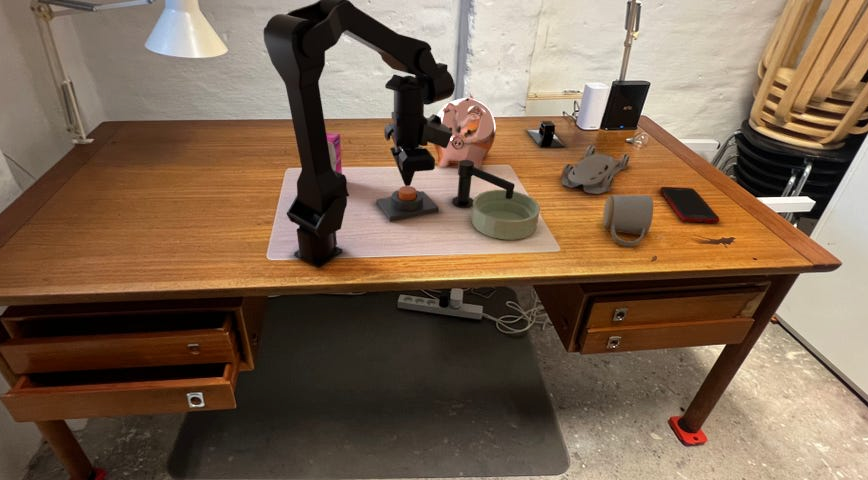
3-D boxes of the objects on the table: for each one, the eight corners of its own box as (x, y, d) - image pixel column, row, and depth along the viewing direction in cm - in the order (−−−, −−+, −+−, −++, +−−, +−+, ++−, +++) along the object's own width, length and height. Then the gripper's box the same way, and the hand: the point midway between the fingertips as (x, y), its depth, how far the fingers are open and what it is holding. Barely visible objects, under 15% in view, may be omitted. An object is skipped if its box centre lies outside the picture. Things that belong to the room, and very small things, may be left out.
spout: (454, 177, 107) (455, 162, 105) (464, 173, 109) (465, 158, 107) (506, 201, 99) (509, 185, 97) (516, 196, 101) (519, 180, 99)
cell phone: (682, 222, 106) (683, 218, 106) (658, 190, 118) (659, 186, 118) (719, 224, 106) (721, 219, 105) (691, 191, 118) (693, 187, 117)
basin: (519, 249, 96) (522, 229, 94) (459, 227, 102) (461, 208, 100) (546, 221, 105) (550, 201, 103) (489, 202, 111) (492, 184, 109)
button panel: (389, 221, 103) (389, 209, 102) (376, 204, 109) (376, 191, 108) (438, 212, 107) (439, 199, 105) (422, 195, 113) (423, 183, 111)
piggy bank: (423, 172, 123) (426, 106, 113) (438, 144, 137) (442, 84, 128) (486, 180, 120) (494, 114, 111) (495, 151, 134) (503, 90, 125)
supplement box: (335, 191, 113) (331, 142, 107) (310, 188, 114) (305, 140, 108) (343, 180, 118) (340, 133, 111) (319, 177, 119) (314, 130, 112)
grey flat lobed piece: (629, 166, 129) (635, 147, 126) (599, 202, 113) (604, 182, 110) (587, 155, 134) (591, 137, 131) (552, 188, 118) (556, 168, 115)
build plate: (526, 131, 147) (529, 115, 145) (550, 131, 148) (553, 115, 145) (540, 147, 137) (543, 131, 134) (565, 147, 138) (569, 130, 135)
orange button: (402, 202, 105) (402, 195, 104) (396, 195, 107) (396, 187, 106) (418, 199, 106) (418, 192, 105) (411, 192, 109) (411, 184, 108)
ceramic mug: (599, 218, 107) (608, 185, 102) (639, 222, 106) (650, 189, 101) (605, 246, 98) (615, 211, 94) (649, 250, 97) (662, 216, 93)
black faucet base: (466, 210, 108) (469, 182, 104) (447, 204, 110) (449, 176, 106) (477, 202, 111) (480, 174, 108) (458, 195, 113) (461, 168, 110)
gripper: (464, 125, 90) (458, 202, 99) (436, 93, 105) (433, 163, 114) (403, 128, 88) (402, 208, 97) (383, 95, 103) (384, 167, 112)
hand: (407, 185), depth 105 cm, fingers closed
